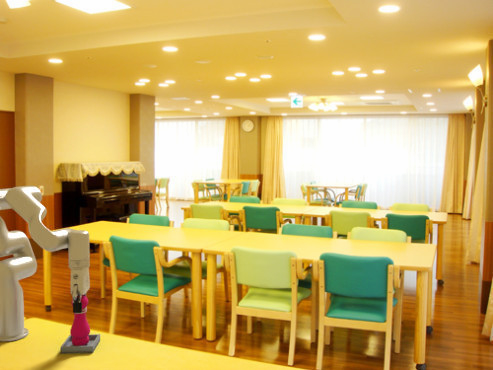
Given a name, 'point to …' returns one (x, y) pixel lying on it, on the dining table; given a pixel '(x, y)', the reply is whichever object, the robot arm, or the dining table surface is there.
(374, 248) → the dining table surface
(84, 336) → the pepper mill
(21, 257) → the robot arm
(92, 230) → the dining table surface
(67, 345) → the tray
